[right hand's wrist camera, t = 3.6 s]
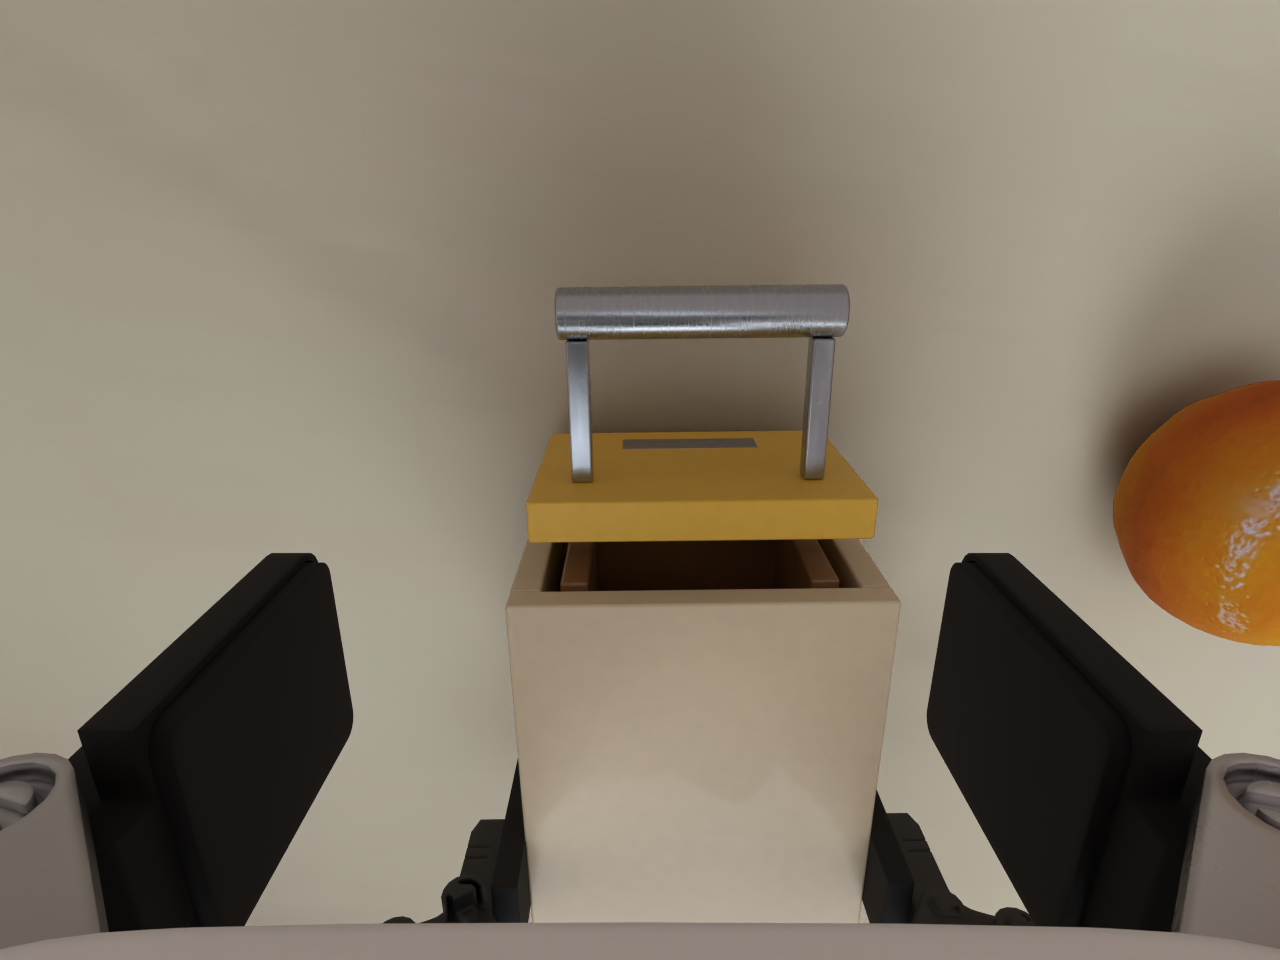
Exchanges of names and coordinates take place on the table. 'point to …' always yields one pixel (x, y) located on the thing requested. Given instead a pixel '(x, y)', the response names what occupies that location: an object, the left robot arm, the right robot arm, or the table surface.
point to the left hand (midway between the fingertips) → (686, 759)
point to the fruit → (1209, 515)
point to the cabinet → (699, 744)
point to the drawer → (698, 456)
